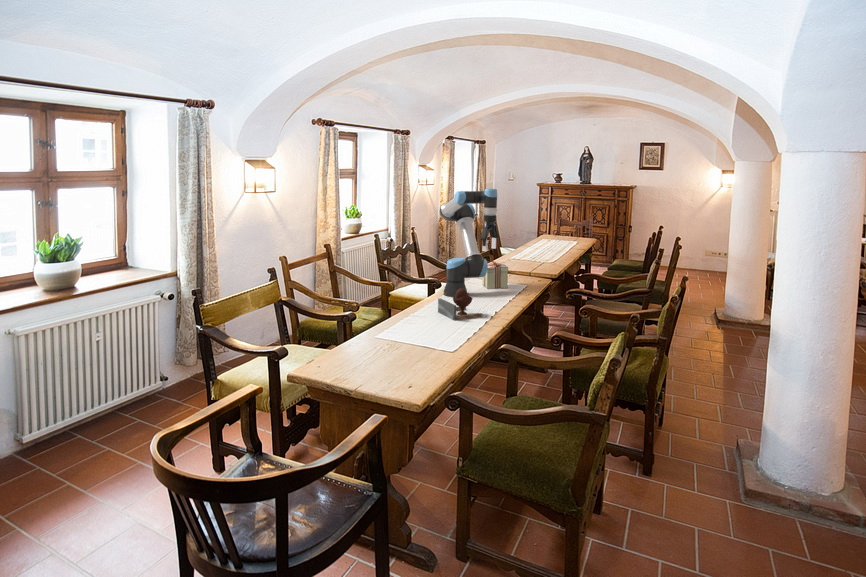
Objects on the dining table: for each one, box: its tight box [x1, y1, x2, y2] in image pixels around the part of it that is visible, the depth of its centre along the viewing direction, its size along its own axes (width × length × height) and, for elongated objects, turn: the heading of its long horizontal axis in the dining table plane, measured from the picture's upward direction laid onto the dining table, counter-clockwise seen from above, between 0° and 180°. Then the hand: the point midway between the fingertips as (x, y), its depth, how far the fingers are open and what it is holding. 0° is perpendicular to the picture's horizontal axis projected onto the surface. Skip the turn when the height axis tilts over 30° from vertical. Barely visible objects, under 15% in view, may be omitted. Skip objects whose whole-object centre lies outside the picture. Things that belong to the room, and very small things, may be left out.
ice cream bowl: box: [452, 288, 473, 316], centre depth 333 cm, size 11×11×15 cm
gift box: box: [481, 260, 509, 290], centre depth 407 cm, size 17×18×17 cm
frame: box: [437, 297, 483, 321], centre depth 333 cm, size 17×19×8 cm
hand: (489, 249), depth 361 cm, fingers open, 13 cm apart
